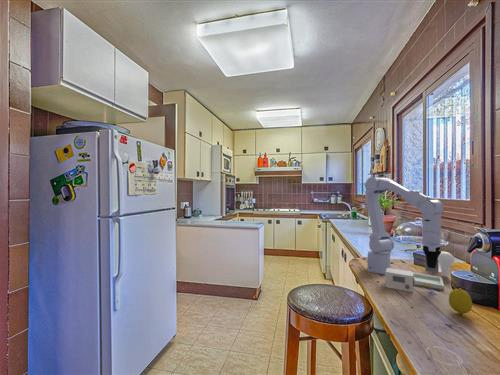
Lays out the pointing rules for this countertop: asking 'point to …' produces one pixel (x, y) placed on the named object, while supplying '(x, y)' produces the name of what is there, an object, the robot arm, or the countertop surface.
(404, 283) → the control box
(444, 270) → the lightbulb
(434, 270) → the block
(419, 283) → the parts tray
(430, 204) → the robot arm
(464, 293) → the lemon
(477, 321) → the countertop surface
